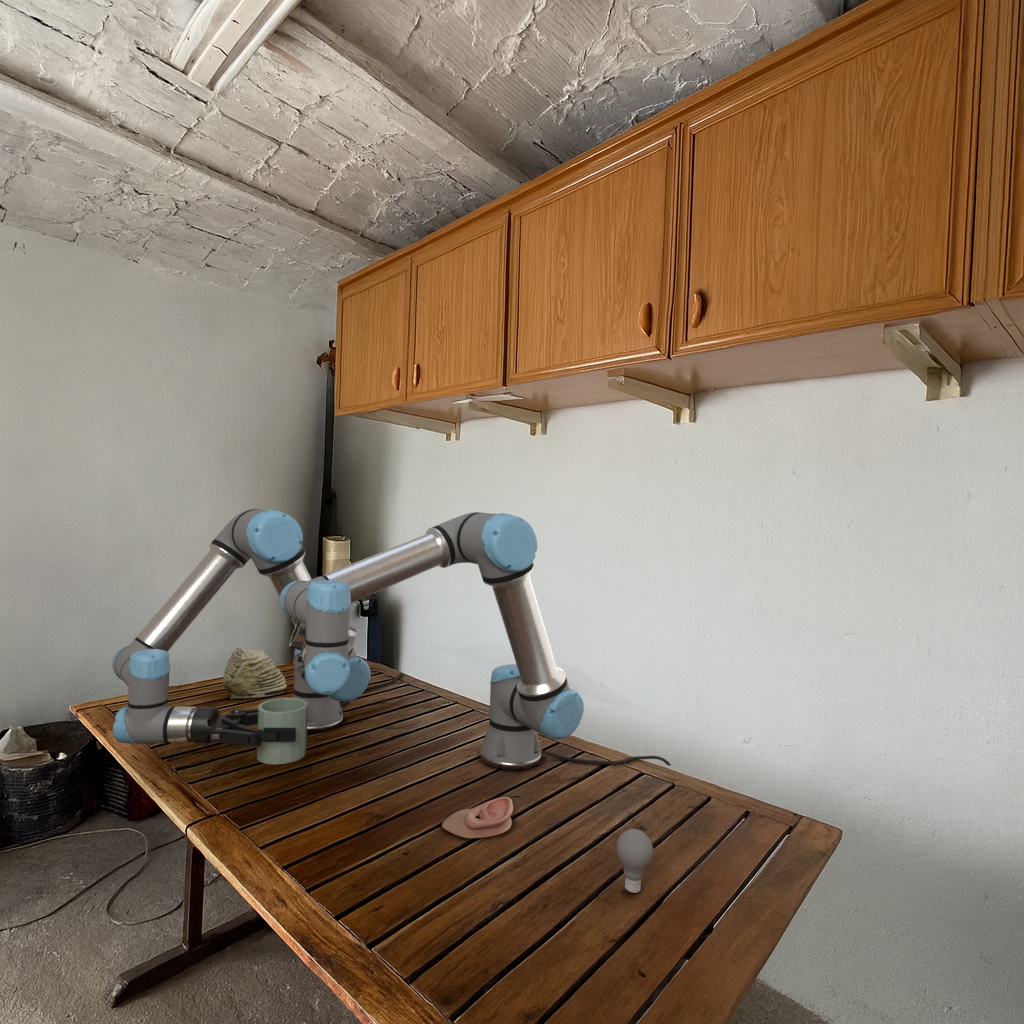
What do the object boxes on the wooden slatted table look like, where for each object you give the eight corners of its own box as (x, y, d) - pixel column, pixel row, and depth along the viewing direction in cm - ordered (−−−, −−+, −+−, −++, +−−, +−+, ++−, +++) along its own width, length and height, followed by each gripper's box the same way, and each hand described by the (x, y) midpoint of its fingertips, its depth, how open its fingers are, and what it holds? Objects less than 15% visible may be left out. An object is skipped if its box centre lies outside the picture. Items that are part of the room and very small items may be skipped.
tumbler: (348, 634, 149) (298, 617, 145) (359, 624, 143) (307, 605, 139) (338, 667, 144) (286, 651, 140) (349, 658, 138) (294, 640, 134)
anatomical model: (437, 813, 121) (454, 787, 132) (436, 833, 121) (454, 805, 132) (505, 823, 118) (517, 795, 129) (504, 844, 118) (516, 815, 129)
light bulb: (610, 879, 108) (613, 822, 108) (644, 879, 109) (647, 822, 109) (619, 902, 102) (622, 840, 102) (655, 901, 103) (658, 840, 103)
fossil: (218, 695, 195) (220, 647, 195) (278, 685, 208) (279, 640, 207) (228, 703, 189) (230, 653, 188) (289, 692, 201) (290, 645, 201)
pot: (289, 742, 146) (291, 694, 146) (315, 754, 140) (316, 705, 140) (247, 754, 138) (249, 704, 138) (272, 768, 132) (274, 716, 132)
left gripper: (213, 723, 148) (310, 724, 151) (172, 764, 125) (288, 764, 128) (214, 691, 148) (312, 692, 151) (173, 726, 125) (289, 727, 128)
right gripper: (318, 712, 124) (312, 679, 145) (361, 610, 126) (348, 593, 148) (281, 701, 122) (279, 669, 143) (325, 598, 124) (317, 582, 145)
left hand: (301, 725), depth 139 cm, fingers closed on pot, 10 cm apart
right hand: (314, 630), depth 145 cm, fingers closed on tumbler, 8 cm apart
